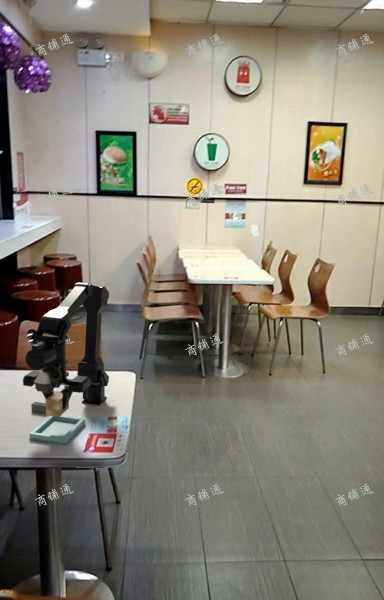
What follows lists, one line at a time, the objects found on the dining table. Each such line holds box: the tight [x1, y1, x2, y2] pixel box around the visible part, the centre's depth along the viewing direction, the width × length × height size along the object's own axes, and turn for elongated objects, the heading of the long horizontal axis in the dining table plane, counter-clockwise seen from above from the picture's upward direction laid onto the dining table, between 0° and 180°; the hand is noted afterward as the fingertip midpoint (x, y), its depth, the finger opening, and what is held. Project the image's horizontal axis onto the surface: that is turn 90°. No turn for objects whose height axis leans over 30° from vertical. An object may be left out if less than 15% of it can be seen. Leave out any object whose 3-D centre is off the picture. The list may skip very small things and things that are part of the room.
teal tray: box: [29, 414, 86, 446], centre depth 144 cm, size 11×13×2 cm
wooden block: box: [45, 390, 70, 417], centre depth 143 cm, size 4×6×5 cm, turn 166°
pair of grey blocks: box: [30, 390, 56, 414], centre depth 161 cm, size 5×11×2 cm, turn 166°
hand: (57, 408), depth 143 cm, fingers closed on wooden block, 4 cm apart
